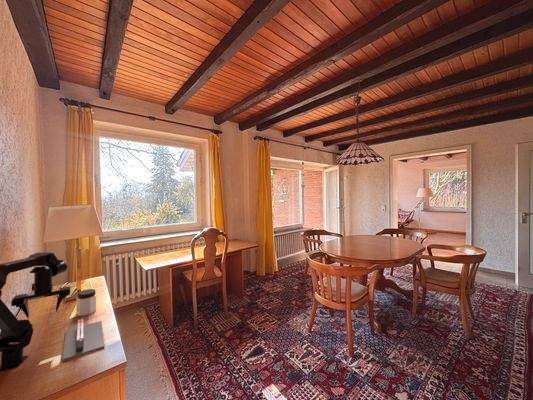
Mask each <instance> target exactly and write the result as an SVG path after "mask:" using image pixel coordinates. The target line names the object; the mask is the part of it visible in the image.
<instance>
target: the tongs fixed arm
mask: <svg viewBox="0 0 533 400" xmlns="http://www.w3.org/2000/svg"><path fill="white" fill-rule="evenodd" d="M80 326H81V319H78V320H77V327H78V330H77V341H76V352H80V351H82V350H83V349H84V339H83V338H81V339H80Z"/></svg>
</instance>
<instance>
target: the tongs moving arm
mask: <svg viewBox="0 0 533 400" xmlns="http://www.w3.org/2000/svg"><path fill="white" fill-rule="evenodd" d="M83 325H84V318H81V319H80V326H81V338H83Z"/></svg>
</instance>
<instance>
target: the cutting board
mask: <svg viewBox="0 0 533 400" xmlns="http://www.w3.org/2000/svg"><path fill="white" fill-rule="evenodd" d="M102 323H103V322H102V320H99V321H95V322H92V323H91V322H90V323H88V324H83V339H84V349H83V350H82V351H80V352H76V341H77V330H78V326H75V327H73V328H68V329H66V330H65V331H66V332H65V337H64V343H63V351H62V359H61V362H62V363H63V362H66V361H68V360H69V361H70V360H73V359H75V358H76V359H77V358H78V357H80V356H84V355H88V354H90V353H91V354H92V353H94V352H96V350H97V351H100V350H102V348H103V349H105V348H104V347H106V345H105V337H104V330H103V324H102ZM80 339H81V325H80ZM99 349H100V350H99Z"/></svg>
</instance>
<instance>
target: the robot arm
mask: <svg viewBox="0 0 533 400" xmlns="http://www.w3.org/2000/svg"><path fill="white" fill-rule="evenodd" d="M29 268H33V269H31V270H30V271H29V273H30V274H33V275H34V276H33V277H34V280H33V281H34V283H31V291H33V294H30V295H28V293H24V294H23V293H21V294H16V295H15V296H14V297H13V298H12V299H11V304H10V305H11V307H15V308H19V309H20V310H21V311H22V312H23V313H24V315H25V316H26V318H27V319H18V318H17V317H16V315H15V314H14V313H13V312H12V311H11V310H10V308H8V306H7V304H5V302H3V300H2V299H1V297H2V293H3V291H2V289H3V288H4V287H5V285H6V284H7V280H8V279H7V278H8V276H9V274H11V273H15V272H18V271H23V270H26V269H29ZM67 270H68V265H67V263H66V262H64V259H58V257H57V256H56V254H55V253H54V252H35V253H32V254H30V255H29V256H28V257H25V258H21V259H17V260H11V261H8V262H3V263H0V353H1V354H0V356H1V357H0V363H1V364H0V371H4V370H10V369H15V368H18V367H19V366H20V365H21V364H22V363H23V362H24V361H25V360H26V359H28V357H29V355H24V349H25V348H26V347H28V346H29V345H30V344H31V340H32V337H33V334H34V324H32V323H31V321H30V320H29V319H30V309H29V301H31V300H37V299H42V298H48V297H51V296H52V297H53V296H58V297H57V301H56V307H55V312H58V310H59V308H60V304H61V303H62V301H63V299H65V298H67V297H68V296H71V287H70V285H68V286H63V287H59V289H58V290H53V288H54V287H53V277H56V276H58V275H60V274H64V273H65V272H66V271H67ZM28 318H29V319H28Z"/></svg>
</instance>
